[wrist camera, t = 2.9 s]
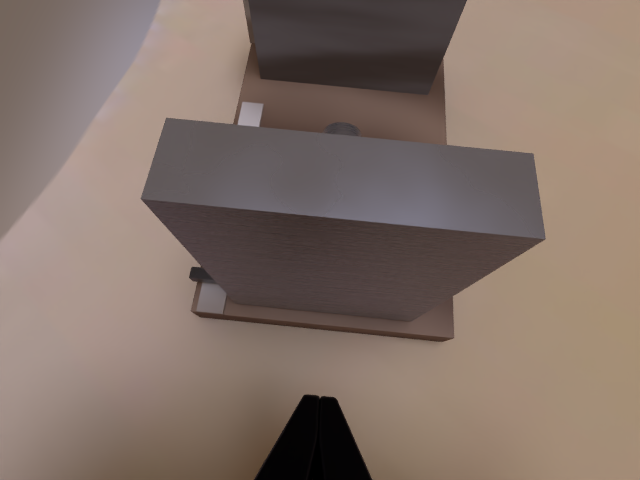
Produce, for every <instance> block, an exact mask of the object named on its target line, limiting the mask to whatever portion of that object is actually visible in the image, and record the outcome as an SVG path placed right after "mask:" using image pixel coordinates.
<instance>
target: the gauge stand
mask: <svg viewBox="0 0 640 480" xmlns="http://www.w3.org/2000/svg"><path fill="white" fill-rule="evenodd" d="M466 1H467V0H243V3H244V9H245V15H246V21H247V26H248V32H249V38H250V43H252V44H251V49H250V53H249V57H248V62H247V66H246V71H245V75H244V79H243V84H242V88H241V93H240V97H239V101H238V106H237V110H236V115H235V119H234V123H233V124H234V125H245V126H255V127H265V128H276V129H286V130H296V131H306V132H317V133H323V130H324V128H325V127H326V126H328V125H330V124H332V123H337V122H345V123H349V124H352V125H354V126H356V127H357V128H358V129H359V130H360V132H361V137H368V138H378V139H389V140H399V141H409V142H419V143H430V144H440V145H447V141H446V116H445V90H444V64H443V57H444V55H445V52H446V50H447V48H448V45H449V43H450V40H451V38H452V35H453V33H454V31H455V28H456V26H457V23H458V21H459V18H460V16H461V14H462V11H463V9H464V6H465V4H466ZM201 268H203V267H202V266H201ZM191 312H193V313H194V314H196V315H198V316H199V317H205V318H215V319H225V320H235V321H244V322H254V323H264V324H274V325H284V326H293V327H303V328H313V329H323V330H333V331H342V332H352V333H362V334H372V335H381V336H391V337H401V338H411V339H421V340H430V341H440V342H444V341H447V340H450V339H453V338H454V321H453V296H452V297H451V298H449V299H447V300H446V301H444V302H443V303H441V304H439V305H438V306H436V307H434V308H433V309H431V310H430V311H428V312H426V313H425V314H423V315H421V316H420V317H418V318H417V319H415V320H413V321H403V320H393V319H383V318H373V317H363V316H353V315H344V314H334V313H324V312H314V311H304V310H294V309H285V308H275V307H265V306H255V305H245V304H235V303H234V302H233V300H232V299H231V298H230V297H229V296H228V295H227V294H226V293H225V292H224V290H223V289H222V288H221V287H220V286H219V285H218V284H215V283H205V282H197V286H196V291H195V295H194V300H193V304H192V309H191Z"/></svg>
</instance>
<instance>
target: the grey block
mask: <svg viewBox="0 0 640 480" xmlns="http://www.w3.org/2000/svg"><path fill="white" fill-rule="evenodd" d="M141 200H142V201H143V202H144V203H145V204H146V205H147V206H148V207H149V209H150V210H151V211H152V212H153V213H154V214H155V215H156V216H157V217H158V218H159V220H160V221H161V222H162V223H163V224H164V225H165V226H166V227H167V228H168V230H169V231H170V232H171V233H172V234H173V235H174V236H175V237H176V238H177V240H178V241H179V242H180V243H181V244H182V245H183V246H184V247H185V248H186V249H187V251H188V252H189V253H190V254H191V255H192V256H193V257H194V258H195V259H196V261H197V262H198V263H199V264H200V265H201V266H202V267H203V268H199V267H192V268H191V272H190V276H189V278H190V279H191V280H192V281H195V282H205V283H215V284H218V285H219V286H220V287H221V288H222V289H223V290H224V292H225V293H226V294H227V295H228V296H229V297H230V298H231V299H232V300H233V302H234V303H235V304H245V305H255V306H265V307H275V308H285V309H294V310H304V311H314V312H324V313H334V314H344V315H353V316H363V317H373V318H383V319H393V320H403V321H413V320H415V319H417V318H418V317H420V316H421V315H423V314H425V313H426V312H428V311H430V310H431V309H433V308H434V307H436V306H438V305H439V304H441V303H443V302H444V301H446V300H447V299H449V298H451V297H452V296H454V295H456V294H457V293H459V292H460V291H462V290H464V289H465V288H467V287H469V286H470V285H472V284H474V283H475V282H477V281H478V280H480V279H482V278H483V277H485V276H487V275H488V274H490V273H491V272H493V271H495V270H496V269H498V268H500V267H501V266H503V265H504V264H506V263H508V262H509V261H511V260H513V259H514V258H516V257H517V256H519V255H521V254H522V253H524V252H526V251H527V250H529V249H530V248H532V247H534V246H535V245H537V244H539V243H540V242H542V241H543V240H545V239H546V238H545V231H544V224H543V217H542V210H541V203H540V196H539V189H538V182H537V175H536V168H535V161H534V154H532V153H522V152H512V151H502V150H491V149H481V148H471V147H460V146H450V145H440V144H430V143H419V142H409V141H399V140H389V139H378V138H368V137H361V132H360V130H359V129H358V128H357V127H356V126H354V125H352V124H349V123H345V122H337V123H332V124H330V125H328V126H326V127H325V128H324V130H323V133H317V132H306V131H296V130H286V129H276V128H265V127H255V126H245V125H234V124H224V123H214V122H204V121H193V120H183V119H173V118H166V120H165V123H164V126H163V130H162V133H161V136H160V139H159V142H158V146H157V149H156V152H155V155H154V158H153V162H152V165H151V168H150V171H149V174H148V177H147V181H146V184H145V187H144V190H143V193H142V197H141Z"/></svg>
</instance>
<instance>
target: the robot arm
mask: <svg viewBox="0 0 640 480" xmlns="http://www.w3.org/2000/svg"><path fill="white" fill-rule="evenodd" d="M254 480H372V478H371V476H370V474H369V471H368V469H367V467H366V464H365V462H364V460H363V458H362V455H361V453H360V451H359V449H358V446H357V444H356V442H355V439H354V437H353V435H352V433H351V430H350V428H349V426H348V424H347V421H346V419H345V417H344V414H343V412H342V410H341V408H340V405H339V403H338V401H337V399H336V398H334V397H326V396H322V397H321V398H319V396H317V395H304V396H303V397H302V399H301V400H300V402H299V404H298V406H297V407H296V409H295V411H294V412H293V414H292V416H291V417H290V419H289V421H288V423H287V424H286V426H285V428H284V429H283V431H282V433H281V434H280V436H279V438H278V440H277V441H276V443H275V445H274V446H273V448H272V450H271V451H270V453H269V455H268V456H267V458H266V460H265V462H264V463H263V465H262V467H261V468H260V470H259V472H258V473H257V475H256V477H255V479H254Z"/></svg>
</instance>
